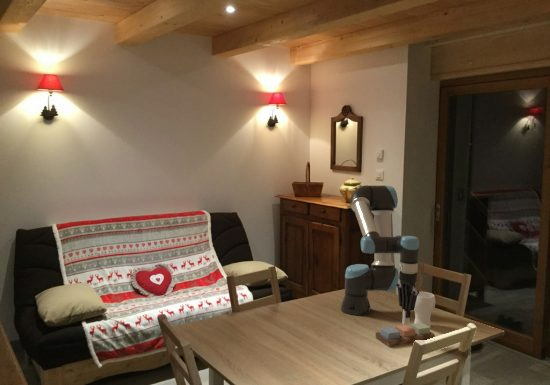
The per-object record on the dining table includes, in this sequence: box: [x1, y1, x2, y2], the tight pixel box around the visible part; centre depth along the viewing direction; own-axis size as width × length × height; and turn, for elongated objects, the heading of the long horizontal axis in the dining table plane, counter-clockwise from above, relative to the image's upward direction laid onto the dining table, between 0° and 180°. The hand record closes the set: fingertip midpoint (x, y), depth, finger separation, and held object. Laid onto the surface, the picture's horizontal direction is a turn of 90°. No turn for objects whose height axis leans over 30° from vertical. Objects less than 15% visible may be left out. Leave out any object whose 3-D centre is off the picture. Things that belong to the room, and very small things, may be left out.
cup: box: [413, 291, 436, 328], centre depth 231 cm, size 11×11×15 cm
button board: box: [375, 331, 436, 348], centre depth 215 cm, size 24×10×2 cm, turn 111°
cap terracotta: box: [395, 324, 415, 337], centre depth 215 cm, size 6×6×3 cm
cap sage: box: [410, 323, 431, 335], centre depth 218 cm, size 6×6×3 cm
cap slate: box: [379, 326, 400, 340], centre depth 212 cm, size 6×6×3 cm
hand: (405, 323), depth 214 cm, fingers closed
